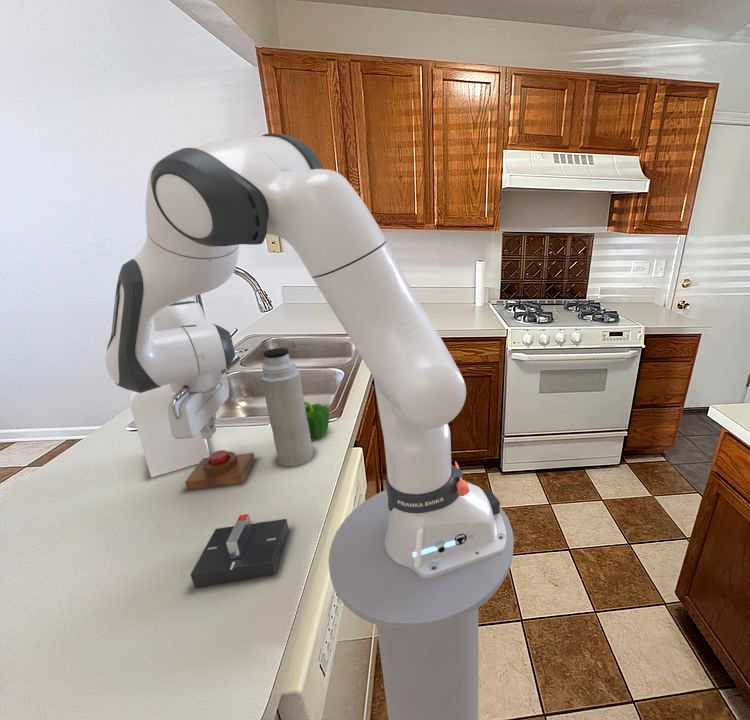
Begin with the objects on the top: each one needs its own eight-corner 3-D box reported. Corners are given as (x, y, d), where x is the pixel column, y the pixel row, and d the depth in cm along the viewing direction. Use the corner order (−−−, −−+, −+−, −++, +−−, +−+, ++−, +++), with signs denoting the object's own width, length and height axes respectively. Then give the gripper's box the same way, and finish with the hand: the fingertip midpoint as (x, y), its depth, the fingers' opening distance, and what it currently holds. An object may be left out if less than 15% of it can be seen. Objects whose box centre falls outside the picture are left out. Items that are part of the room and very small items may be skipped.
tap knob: (241, 558, 66) (236, 540, 64) (230, 559, 65) (225, 542, 64) (253, 529, 72) (249, 512, 70) (243, 530, 71) (239, 514, 70)
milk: (210, 459, 97) (183, 360, 88) (151, 477, 91) (114, 372, 81) (206, 439, 106) (181, 347, 97) (152, 453, 99) (119, 356, 90)
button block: (255, 460, 97) (251, 446, 96) (242, 483, 89) (238, 468, 87) (205, 465, 95) (201, 451, 93) (187, 489, 86) (182, 474, 85)
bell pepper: (338, 432, 109) (333, 399, 106) (312, 446, 103) (307, 412, 99) (318, 424, 113) (313, 392, 110) (292, 437, 107) (286, 404, 103)
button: (231, 455, 92) (229, 449, 92) (225, 464, 89) (223, 458, 89) (214, 457, 92) (212, 451, 91) (207, 466, 88) (205, 460, 88)
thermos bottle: (309, 444, 104) (291, 342, 94) (316, 459, 97) (298, 352, 88) (275, 454, 99) (253, 348, 90) (281, 470, 93) (258, 359, 83)
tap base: (289, 529, 76) (286, 516, 75) (274, 576, 66) (271, 562, 65) (220, 539, 73) (216, 526, 72) (193, 590, 63) (188, 575, 62)
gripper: (189, 397, 74) (206, 460, 79) (229, 360, 93) (240, 413, 97) (150, 400, 73) (170, 464, 77) (198, 362, 91) (212, 415, 96)
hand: (209, 435), depth 88 cm, fingers closed
